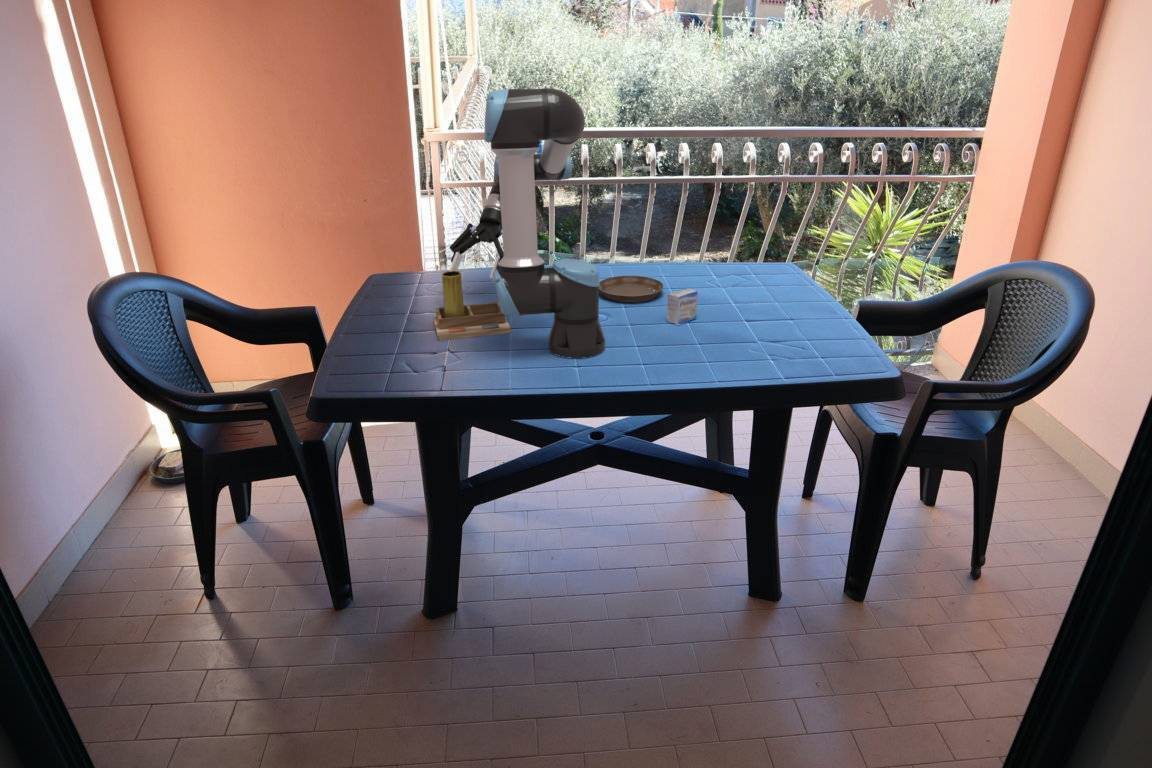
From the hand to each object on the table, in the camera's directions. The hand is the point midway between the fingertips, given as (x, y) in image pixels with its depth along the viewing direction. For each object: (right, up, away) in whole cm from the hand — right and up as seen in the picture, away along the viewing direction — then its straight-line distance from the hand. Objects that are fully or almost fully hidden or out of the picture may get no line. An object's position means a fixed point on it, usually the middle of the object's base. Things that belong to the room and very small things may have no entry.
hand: (471, 276), depth 226 cm
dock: (0, -15, -4) cm, 15 cm away
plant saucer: (+47, -3, +21) cm, 52 cm away
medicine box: (+60, -13, 0) cm, 62 cm away
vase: (-4, -13, -4) cm, 15 cm away
